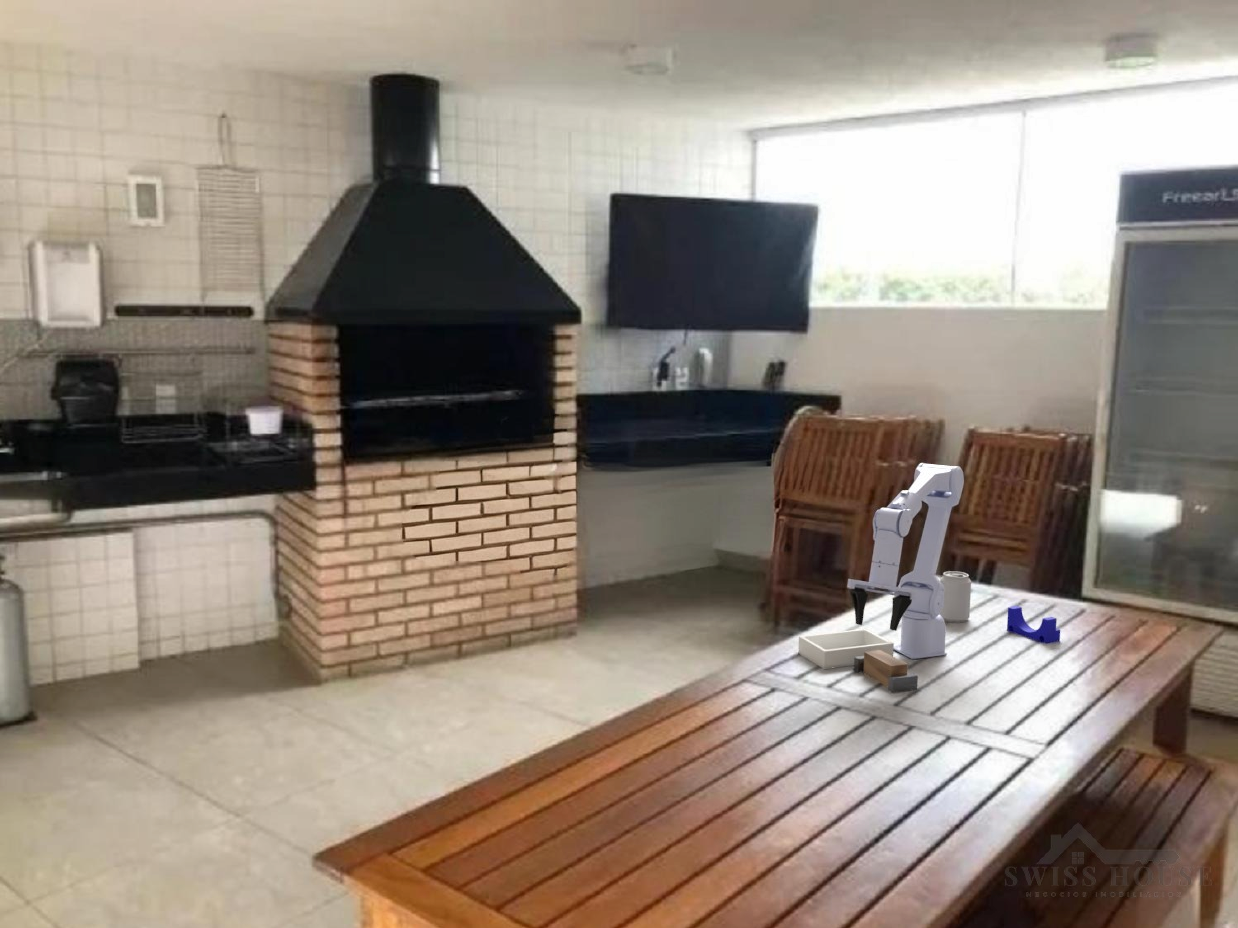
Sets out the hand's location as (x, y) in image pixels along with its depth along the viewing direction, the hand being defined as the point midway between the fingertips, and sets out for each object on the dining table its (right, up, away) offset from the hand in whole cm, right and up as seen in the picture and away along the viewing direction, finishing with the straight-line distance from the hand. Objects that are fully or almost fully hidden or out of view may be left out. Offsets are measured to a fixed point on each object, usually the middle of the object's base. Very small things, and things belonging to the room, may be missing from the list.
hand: (875, 627), depth 223 cm
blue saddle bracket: (+46, -7, +31) cm, 56 cm away
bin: (-3, -9, +15) cm, 18 cm away
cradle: (+2, -11, 0) cm, 11 cm away
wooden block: (+2, -11, 0) cm, 12 cm away
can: (+31, -5, +45) cm, 55 cm away
